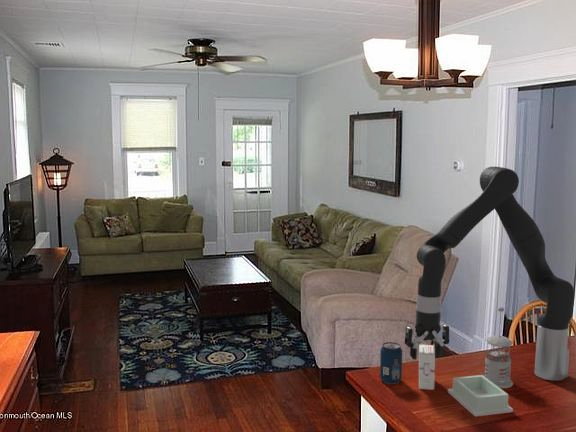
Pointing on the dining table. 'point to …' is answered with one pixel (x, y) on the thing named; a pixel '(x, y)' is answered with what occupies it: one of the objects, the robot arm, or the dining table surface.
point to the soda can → (391, 363)
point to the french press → (499, 360)
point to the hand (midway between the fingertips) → (426, 357)
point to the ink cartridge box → (426, 366)
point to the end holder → (480, 395)
